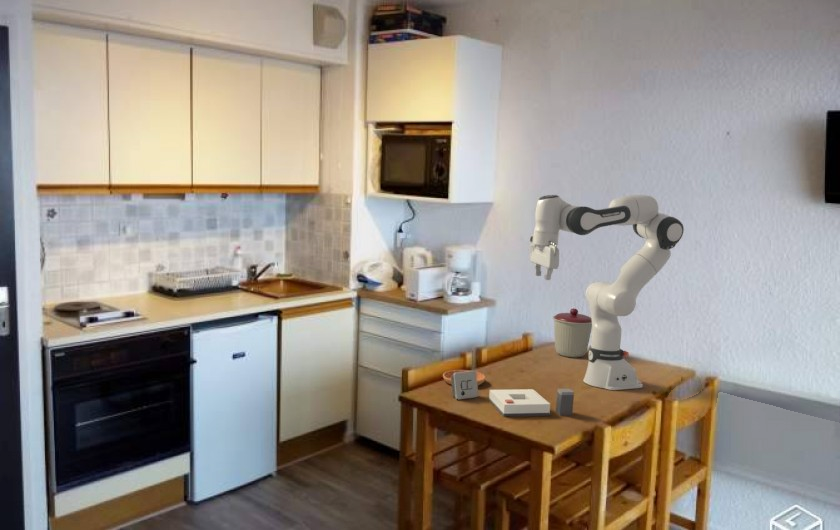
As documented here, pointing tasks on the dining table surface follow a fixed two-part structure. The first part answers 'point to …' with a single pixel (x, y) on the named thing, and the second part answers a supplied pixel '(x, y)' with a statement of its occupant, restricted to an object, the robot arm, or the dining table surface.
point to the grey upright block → (564, 401)
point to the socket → (519, 402)
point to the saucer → (448, 374)
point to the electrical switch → (464, 385)
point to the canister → (572, 333)
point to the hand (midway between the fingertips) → (542, 277)
